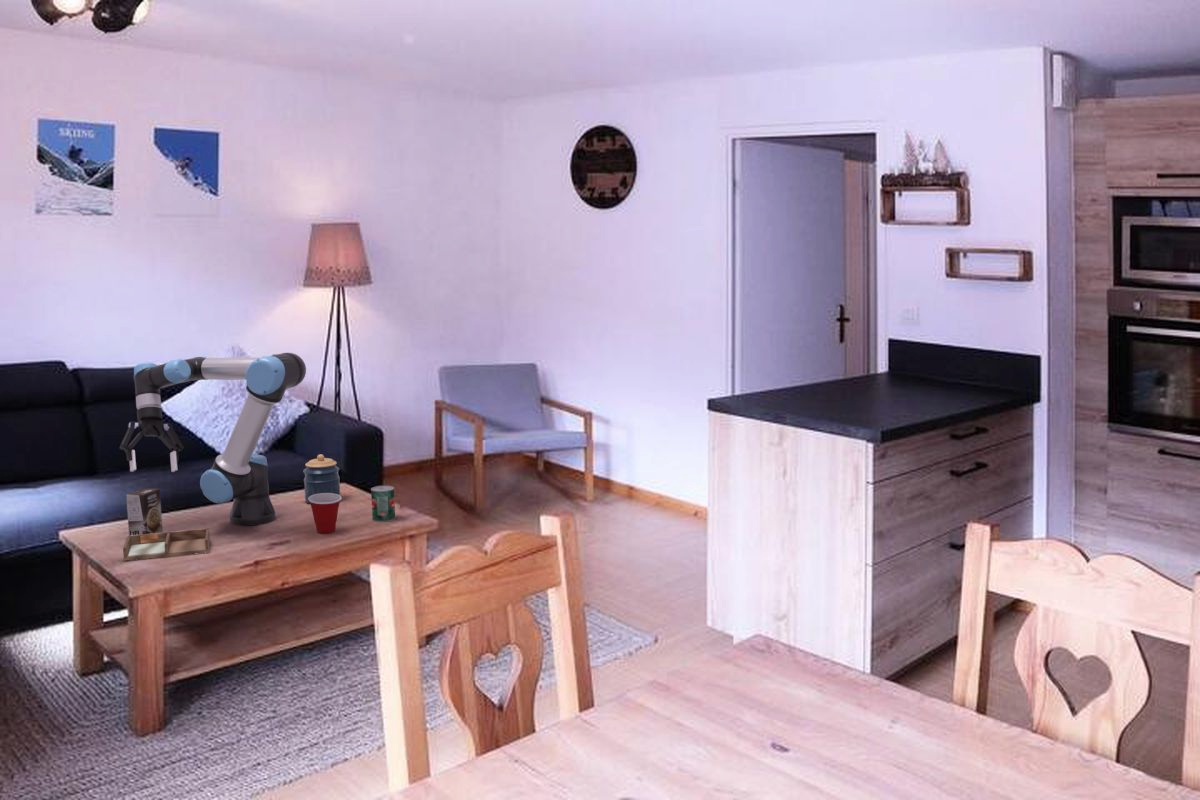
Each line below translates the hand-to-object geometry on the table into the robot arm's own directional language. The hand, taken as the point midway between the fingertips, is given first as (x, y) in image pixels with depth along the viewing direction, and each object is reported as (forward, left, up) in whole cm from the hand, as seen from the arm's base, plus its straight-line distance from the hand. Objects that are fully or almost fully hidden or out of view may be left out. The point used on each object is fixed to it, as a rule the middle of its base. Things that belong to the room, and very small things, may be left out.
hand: (154, 470), depth 333 cm
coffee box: (+3, +4, -22) cm, 23 cm away
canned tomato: (-73, +7, -22) cm, 76 cm away
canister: (-55, -27, -22) cm, 65 cm away
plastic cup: (-53, +16, -22) cm, 59 cm away
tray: (-4, +20, -22) cm, 30 cm away
